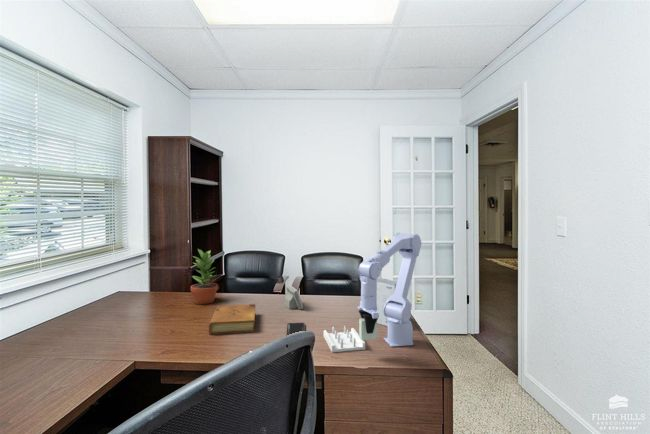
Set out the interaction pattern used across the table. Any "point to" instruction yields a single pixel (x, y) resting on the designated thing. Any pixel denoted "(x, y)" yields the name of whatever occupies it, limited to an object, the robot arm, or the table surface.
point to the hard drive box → (384, 297)
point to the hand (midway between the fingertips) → (368, 331)
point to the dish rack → (344, 340)
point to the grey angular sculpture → (292, 298)
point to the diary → (233, 319)
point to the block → (363, 332)
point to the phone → (295, 327)
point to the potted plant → (204, 280)
